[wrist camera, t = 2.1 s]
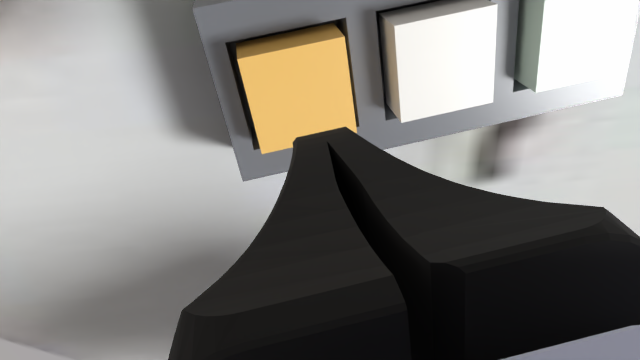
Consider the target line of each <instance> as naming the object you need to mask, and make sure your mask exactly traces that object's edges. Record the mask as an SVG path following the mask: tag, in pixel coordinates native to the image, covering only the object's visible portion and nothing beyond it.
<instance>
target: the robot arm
mask: <svg viewBox="0 0 640 360" xmlns="http://www.w3.org/2000/svg"><path fill="white" fill-rule="evenodd" d="M168 360H640V237H639V236H638V235H637V234H636V233H634V232H633V231H632V230H631V229H630V228H628V227H627V226H626V225H625V224H624V223H622V222H621V221H620V220H619V219H618V218H616V217H615V216H614V215H613V214H612V213H610V212H609V211H608V210H606V209H605V208H604V207H595V206H584V205H572V204H561V203H550V202H542V201H535V200H529V199H523V198H517V197H511V196H506V195H501V194H496V193H492V192H488V191H484V190H480V189H476V188H472V187H468V186H465V185H462V184H458V183H455V182H452V181H449V180H446V179H444V178H441V177H438V176H435V175H433V174H430V173H428V172H425V171H423V170H420V169H418V168H416V167H414V166H412V165H410V164H408V163H406V162H404V161H402V160H400V159H398V158H396V157H394V156H392V155H390V154H389V153H387V152H385V151H383V150H382V149H380V148H378V147H377V146H375V145H373V144H372V143H370V142H368V141H367V140H365V139H364V138H362V137H361V136H359V135H358V134H356V133H355V132H353V131H352V130H350V129H349V128H347V127H341V128H337V129H332V130H328V131H323V132H319V133H314V134H310V135H305V136H301V137H296V139H295V140H294V141H293V153H292V158H291V163H290V167H289V170H288V173H287V177H286V180H285V183H284V185H283V187H282V190H281V192H280V195H279V197H278V199H277V202H276V204H275V206H274V208H273V210H272V212H271V214H270V215H269V217H268V219H267V221H266V222H265V224H264V226H263V227H262V229H261V230H260V232H259V233H258V235H257V236H256V238H255V239H254V240H253V242H252V243H251V245H250V246H249V247H248V249H247V250H246V251H245V252H244V254H243V255H242V256H241V257H240V258H239V259H238V260H237V261H236V263H235V264H234V265H233V266H232V267H231V268H230V269H229V270H228V271H227V272H226V273H225V274H224V275H223V276H222V277H221V278H220V279H219V280H218V281H216V282H215V283H214V284H213V285H212V286H211V287H209V288H208V289H207V290H206V291H205V292H204V293H202V294H201V295H200V296H199V297H198V298H197V299H195V300H194V301H193V302H192V303H191V304H189V305H188V306H187V307H185V308H184V309H183V310H182V312H181V315H180V318H179V322H178V325H177V328H176V332H175V335H174V339H173V343H172V347H171V350H170V354H169V359H168Z"/></svg>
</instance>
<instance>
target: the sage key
mask: <svg viewBox="0 0 640 360" xmlns="http://www.w3.org/2000/svg"><path fill="white" fill-rule="evenodd" d="M638 3H639V0H519V10H518V24H517V39H516V53H515V68H514V79H515V80H517V81H518V82H520V83H521V84H523V85H524V86H526V87H527V88H529V89H531V90H532V91H534V92H535V93H537V92H542V91H546V90H551V89H555V88H560V87H564V86H568V85H573V84H577V83H582V82H586V81H591V80H595V79H600V78H604V77H609V76H613V75H618V74H622V73H624V72H625V67H626V62H627V57H628V52H629V47H630V42H631V37H632V32H633V27H634V22H635V17H636V12H637V7H638Z"/></svg>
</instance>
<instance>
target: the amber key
mask: <svg viewBox="0 0 640 360" xmlns="http://www.w3.org/2000/svg"><path fill="white" fill-rule="evenodd" d="M236 51H237V61H238V65H239V68H240V72H241V76H242V80H243V84H244V88H245V92H246V95H247V99H248V103H249V107H250V111H251V115H252V118H253V122H254V126H255V130H256V134H257V138H258V142H259V145H260V149H261V153H262V154H265V153H270V152H274V151H278V150H283V149H287V148H292V147H293V141H294V140H295V139H296V137H301V136H305V135H310V134H314V133H319V132H323V131H328V130H332V129H337V128H341V127H347V128H349V129H350V130H352V131H353V132H355V133H357V128H356V121H355V113H354V105H353V97H352V90H351V82H350V74H349V66H348V59H347V51H346V43H345V36H344V35H343V34H342V33H341V31H340V30H339V29H338V28H337V27H336V25H335V24H334V23H330V24H325V25H321V26H316V27H311V28H306V29H301V30H297V31H292V32H287V33H282V34H278V35H273V36H268V37H263V38H258V39H254V40H249V41H244V42H239V43H236Z"/></svg>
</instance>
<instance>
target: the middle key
mask: <svg viewBox="0 0 640 360" xmlns="http://www.w3.org/2000/svg"><path fill="white" fill-rule="evenodd" d="M497 6H498V4H496V3H493V2H491V1H489V0H440V1H436V2H431V3H426V4H421V5H416V6H412V7H407V8H402V9H397V10H393V11H388V12H383V13H379V24H380V35H381V47H382V58H383V70H384V81H385V92H386V104H387V105H388V106H389V108H390V109H391V110H392V111H393V113H394V114H395V115H396V117H397V118H398V119H399V121H400V122H401V123H403V122H408V121H412V120H417V119H421V118H426V117H430V116H435V115H439V114H444V113H448V112H452V111H457V110H461V109H466V108H470V107H475V106H479V105H484V104H488V103H493V94H494V72H495V50H496V28H497Z"/></svg>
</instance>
